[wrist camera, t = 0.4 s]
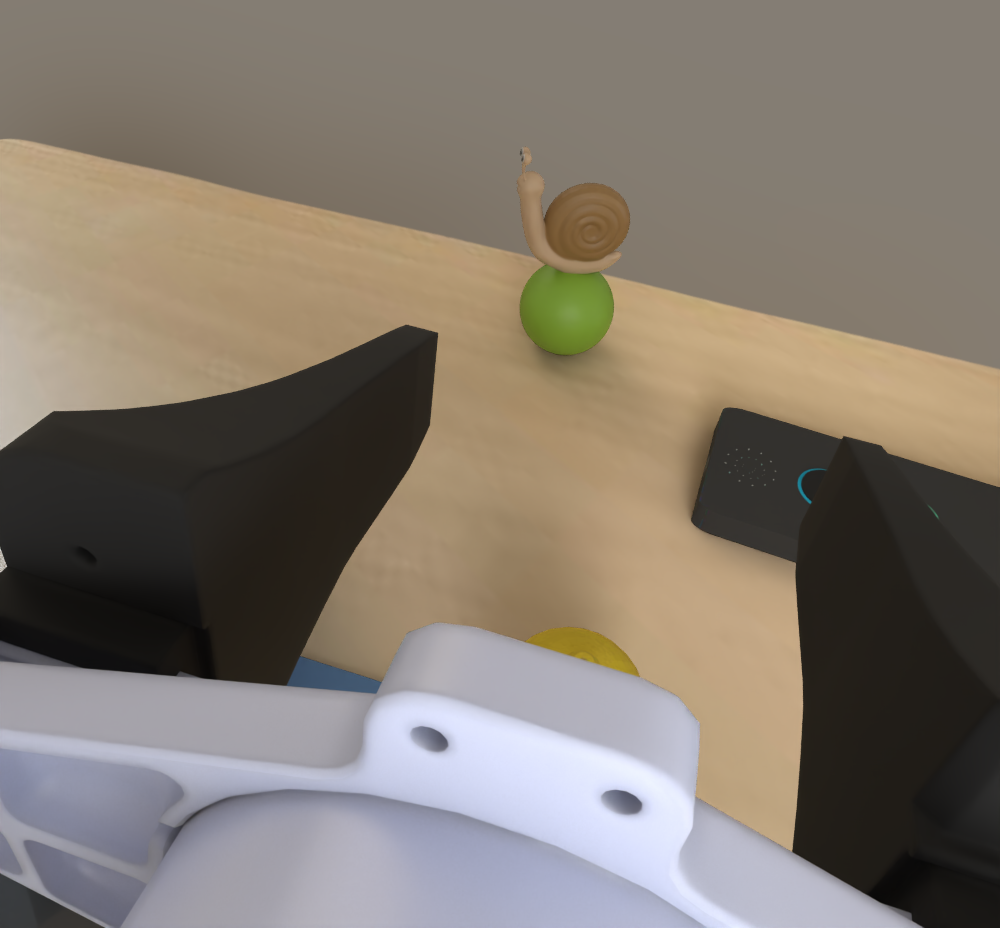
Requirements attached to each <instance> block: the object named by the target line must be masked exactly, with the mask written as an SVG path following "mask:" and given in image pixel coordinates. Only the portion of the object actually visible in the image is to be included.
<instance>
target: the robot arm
mask: <svg viewBox="0 0 1000 928" xmlns="http://www.w3.org/2000/svg"><path fill="white" fill-rule="evenodd" d="M437 340H438V333H437V332H433V331H429V330H425V329H421V328H417V327H413V326H409V325H405V326H402V327H399V328H397V329H395V330H392V331H390V332H388V333H386V334H384V335H381V336H379V337H377V338H375V339H373V340H371V341H369V342H367V343H365V344H362V345H360V346H358V347H356V348H354V349H352V350H349V351H347V352H345V353H343V354H341V355H338V356H336V357H334V358H332V359H329V360H327V361H324V362H322V363H319V364H317V365H314V366H312V367H309V368H307V369H304V370H302V371H299V372H297V373H294V374H292V375H289V376H286V377H283V378H280V379H278V380H274V381H271V382H268V383H265V384H261V385H258V386H254V387H251V388H247V389H244V390H240V391H236V392H232V393H227V394H222V395H217V396H212V397H207V398H202V399H197V400H192V401H187V402H181V403H174V404H166V405H159V406H150V407H140V408H130V409H117V410H91V411H53V412H52V413H50V414H49V415H48V416H46V417H45V418H44V419H42V420H41V421H40V422H38V423H37V424H36V425H34V426H33V427H31V428H30V429H29V430H27V431H26V432H25V433H23V434H22V435H21V436H19V437H18V438H17V439H15V440H14V441H13V442H11V443H10V444H9V445H7V446H6V447H4V448H3V449H2V450H0V548H1V551H2V553H3V556H4V559H5V562H6V565H7V567H6V568H5V569H4V570H3V571H2V572H1V573H0V873H1V874H3V875H5V876H7V877H9V878H10V879H12V880H14V881H16V882H18V883H20V884H22V885H24V886H26V887H28V888H30V889H32V890H34V891H35V892H37V893H39V894H41V895H43V896H45V897H47V898H49V899H51V900H53V901H55V902H57V903H59V904H60V905H62V906H64V907H66V908H68V909H70V910H72V911H74V912H76V913H78V914H80V915H82V916H84V917H85V918H87V919H89V920H91V921H93V922H95V923H97V924H99V925H101V926H103V927H105V928H1000V586H999V585H998V584H997V583H996V582H995V581H994V580H993V579H992V578H991V577H990V576H989V575H988V574H987V573H986V572H985V571H984V570H983V569H982V568H981V567H980V565H979V564H978V563H977V562H976V561H975V560H974V559H973V558H972V557H971V556H970V554H969V553H968V552H967V551H966V550H965V549H964V548H963V547H962V546H961V545H960V543H959V542H958V541H957V540H956V539H955V538H954V537H953V535H952V534H951V533H950V532H949V531H948V529H947V528H946V527H945V526H944V525H943V523H942V522H941V521H940V520H939V519H938V517H937V516H936V515H935V514H934V512H933V511H932V510H931V509H930V507H929V506H928V505H927V504H926V502H925V501H924V500H923V498H922V497H921V496H920V495H919V493H918V492H917V491H916V489H915V488H914V487H913V485H912V484H911V483H910V481H909V480H908V479H907V477H906V476H905V475H904V474H903V472H902V471H901V470H900V468H899V467H898V466H897V464H896V463H895V462H894V461H893V459H892V458H891V457H890V456H889V454H888V453H887V452H886V451H885V450H884V449H883V447H882V446H880V445H876V444H873V443H869V442H865V441H861V440H857V439H853V438H849V437H845V436H843V438H842V440H841V442H840V445H839V447H838V449H837V451H836V453H835V455H834V457H833V459H832V461H831V463H830V465H829V467H828V469H827V471H826V473H825V475H824V477H823V479H822V481H821V483H820V485H819V487H818V489H817V492H816V494H815V496H814V498H813V500H812V502H811V504H810V506H809V508H808V510H807V512H806V514H805V516H804V518H803V520H802V522H801V524H800V528H799V538H798V548H797V561H796V592H797V608H798V622H799V636H800V649H801V663H802V677H803V721H802V740H801V758H800V771H799V785H798V798H797V810H796V820H795V830H794V840H793V850H792V852H791V851H789V850H788V849H786V848H784V847H782V846H781V845H779V844H777V843H775V842H774V841H772V840H770V839H769V838H767V837H765V836H763V835H762V834H760V833H758V832H756V831H755V830H753V829H751V828H749V827H748V826H746V825H744V824H742V823H741V822H739V821H737V820H736V819H734V818H732V817H730V816H729V815H727V814H725V813H723V812H722V811H720V810H718V809H716V808H715V807H713V806H711V805H709V804H708V803H706V802H704V801H702V800H701V799H699V798H697V797H696V796H695V794H696V782H697V771H698V759H699V743H700V723H699V722H698V721H697V719H696V718H695V717H694V716H693V714H692V713H691V712H690V711H689V709H688V708H687V707H686V706H685V704H684V703H683V702H682V701H681V699H680V698H679V697H678V696H676V695H675V694H673V693H671V692H669V691H667V690H665V689H663V688H661V687H659V686H657V685H655V684H653V683H651V682H649V681H647V680H645V679H643V678H641V677H638V676H635V675H632V674H628V673H625V672H622V671H618V670H615V669H612V668H609V667H605V666H602V665H599V664H596V663H592V662H589V661H586V660H582V659H579V658H576V657H573V656H569V655H566V654H563V653H559V652H556V651H553V650H550V649H546V648H543V647H540V646H537V645H533V644H530V643H527V642H523V641H520V640H517V639H514V638H510V637H507V636H504V635H501V634H497V633H494V632H491V631H487V630H484V629H481V628H478V627H474V626H465V625H457V624H448V623H433V624H430V625H428V626H425V627H422V628H419V629H416V630H414V631H411V632H408V633H407V634H406V636H405V638H404V639H403V641H402V643H401V645H400V647H399V649H398V651H397V652H396V654H395V656H394V658H393V660H392V662H391V665H390V667H389V669H388V671H387V673H386V675H385V677H384V679H383V681H382V683H381V685H380V687H379V689H378V691H377V693H376V694H373V693H361V692H350V691H338V690H327V689H315V688H304V687H292V686H287V684H288V682H289V679H290V677H291V675H292V673H293V671H294V668H295V666H296V664H297V662H298V660H299V657H300V655H301V653H302V651H303V649H304V647H305V645H306V643H307V640H308V638H309V636H310V634H311V632H312V630H313V628H314V626H315V624H316V622H317V620H318V618H319V616H320V614H321V612H322V610H323V608H324V606H325V604H326V602H327V600H328V598H329V596H330V594H331V592H332V590H333V588H334V586H335V584H336V582H337V580H338V578H339V576H340V574H341V572H342V570H343V569H344V567H345V565H346V563H347V562H348V560H349V558H350V557H351V555H352V553H353V552H354V550H355V548H356V547H357V545H358V544H359V542H360V541H361V540H362V538H363V537H364V535H365V534H366V532H367V531H368V529H369V528H370V526H371V525H372V523H373V522H374V520H375V519H376V517H377V516H378V514H379V513H380V511H381V510H382V508H383V507H384V505H385V504H386V503H387V501H388V500H389V498H390V497H391V495H392V494H393V492H394V491H395V489H396V488H397V486H398V485H399V483H400V481H401V480H402V478H403V477H404V475H405V474H406V472H407V471H408V469H409V468H410V466H411V464H412V462H413V460H414V458H415V456H416V454H417V452H418V450H419V448H420V445H421V443H422V441H423V439H424V437H425V435H426V432H427V430H428V428H429V426H430V417H431V406H432V395H433V384H434V373H435V362H436V351H437Z"/></svg>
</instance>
